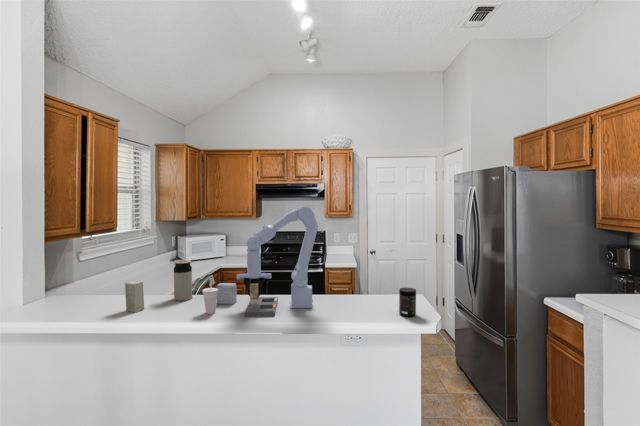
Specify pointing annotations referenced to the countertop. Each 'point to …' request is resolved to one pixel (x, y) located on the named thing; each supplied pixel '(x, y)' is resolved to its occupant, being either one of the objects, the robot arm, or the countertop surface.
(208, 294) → the smoothie
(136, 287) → the skincare box
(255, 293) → the tan rectangular block
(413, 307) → the supplement container
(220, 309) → the countertop surface
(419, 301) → the countertop surface
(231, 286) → the medicine box
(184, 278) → the travel mug
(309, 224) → the robot arm
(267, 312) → the dock
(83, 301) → the countertop surface
